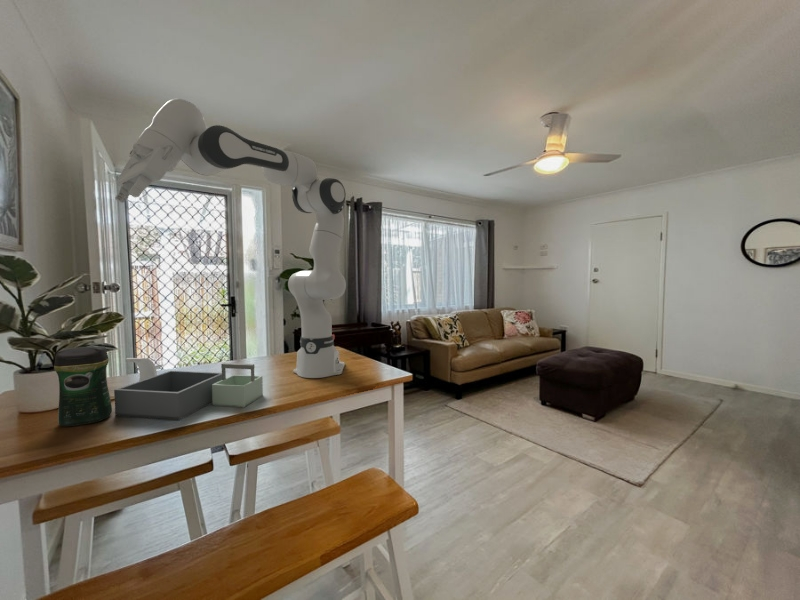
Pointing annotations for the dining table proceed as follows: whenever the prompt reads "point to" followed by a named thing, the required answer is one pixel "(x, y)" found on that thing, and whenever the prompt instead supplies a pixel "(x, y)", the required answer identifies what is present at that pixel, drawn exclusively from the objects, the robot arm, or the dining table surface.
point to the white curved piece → (144, 367)
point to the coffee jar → (82, 385)
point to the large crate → (166, 395)
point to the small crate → (237, 387)
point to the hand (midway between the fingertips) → (125, 198)
